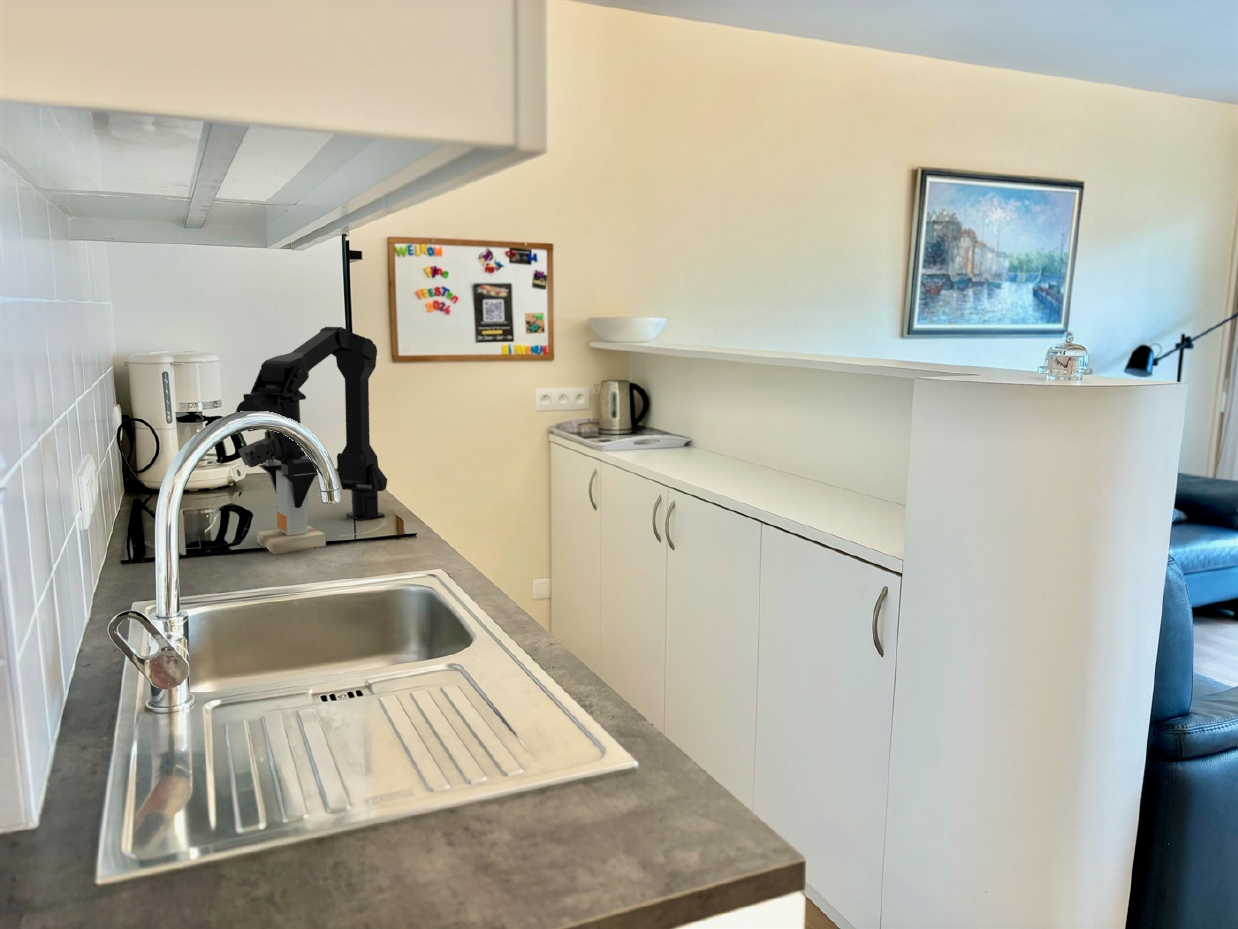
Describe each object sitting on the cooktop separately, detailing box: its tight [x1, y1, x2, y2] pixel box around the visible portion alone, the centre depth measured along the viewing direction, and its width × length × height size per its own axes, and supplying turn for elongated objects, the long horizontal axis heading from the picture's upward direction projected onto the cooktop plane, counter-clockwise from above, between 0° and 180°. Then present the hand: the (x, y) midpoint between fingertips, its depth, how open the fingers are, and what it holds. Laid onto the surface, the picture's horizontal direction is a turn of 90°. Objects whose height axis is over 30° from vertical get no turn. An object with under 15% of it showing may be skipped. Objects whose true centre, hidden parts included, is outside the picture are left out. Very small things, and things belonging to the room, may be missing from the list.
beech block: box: [256, 525, 327, 555], centre depth 178 cm, size 10×10×3 cm
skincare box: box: [275, 470, 309, 536], centre depth 177 cm, size 6×4×12 cm
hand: (289, 503), depth 177 cm, fingers open, 9 cm apart
